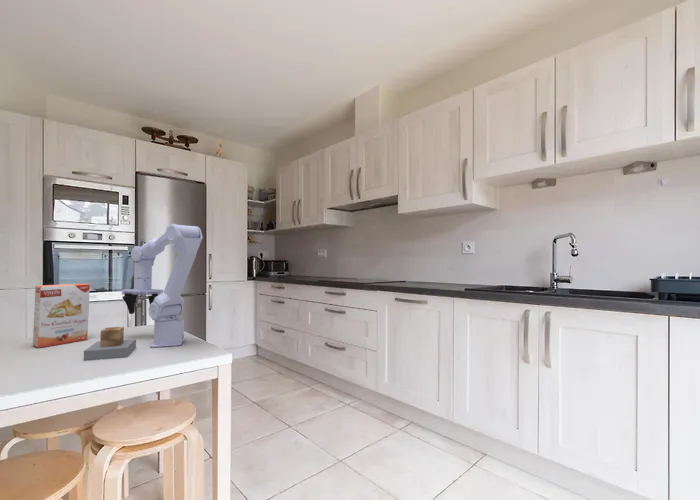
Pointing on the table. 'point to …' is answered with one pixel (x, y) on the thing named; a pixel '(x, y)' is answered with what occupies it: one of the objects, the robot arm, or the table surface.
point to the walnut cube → (112, 336)
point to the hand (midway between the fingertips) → (142, 313)
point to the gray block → (109, 351)
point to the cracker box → (60, 314)
